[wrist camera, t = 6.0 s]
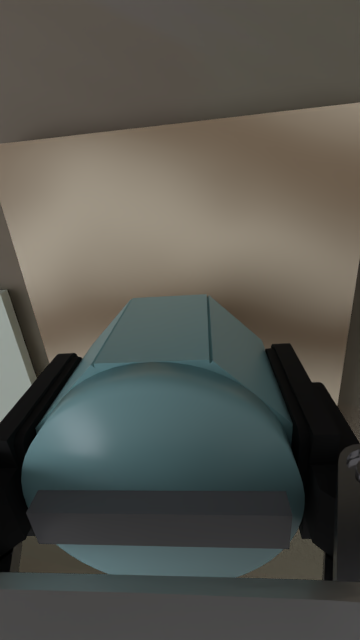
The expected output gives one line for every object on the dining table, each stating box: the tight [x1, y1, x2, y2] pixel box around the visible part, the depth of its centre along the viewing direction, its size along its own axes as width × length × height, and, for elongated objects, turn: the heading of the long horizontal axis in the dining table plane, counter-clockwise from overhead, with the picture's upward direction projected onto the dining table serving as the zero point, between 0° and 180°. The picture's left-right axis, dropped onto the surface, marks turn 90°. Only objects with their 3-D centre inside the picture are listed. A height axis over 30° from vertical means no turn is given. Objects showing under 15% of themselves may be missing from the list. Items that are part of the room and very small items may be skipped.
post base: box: [0, 103, 360, 405], centre depth 12 cm, size 16×14×8 cm
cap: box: [21, 294, 305, 578], centre depth 9 cm, size 6×6×6 cm
